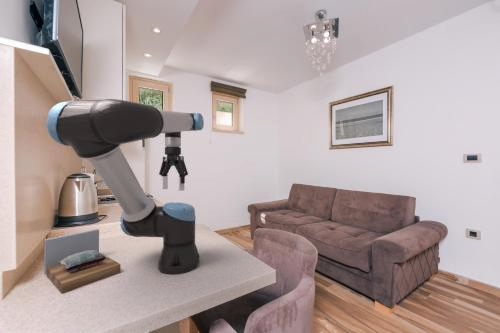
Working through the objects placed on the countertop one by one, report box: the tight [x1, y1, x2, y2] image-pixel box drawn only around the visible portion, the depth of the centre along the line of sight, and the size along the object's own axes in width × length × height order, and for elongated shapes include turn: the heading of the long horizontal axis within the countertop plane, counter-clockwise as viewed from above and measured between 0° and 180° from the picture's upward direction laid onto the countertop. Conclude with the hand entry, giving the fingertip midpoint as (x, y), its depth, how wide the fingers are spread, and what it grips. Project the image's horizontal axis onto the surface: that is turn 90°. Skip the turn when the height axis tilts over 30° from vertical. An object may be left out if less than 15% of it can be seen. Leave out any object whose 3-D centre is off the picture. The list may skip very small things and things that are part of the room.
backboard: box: [43, 228, 100, 276], centre depth 81 cm, size 2×16×12 cm, turn 144°
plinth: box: [46, 252, 121, 295], centre depth 74 cm, size 18×16×3 cm
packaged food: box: [58, 250, 107, 272], centre depth 74 cm, size 9×12×5 cm
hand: (172, 189), depth 104 cm, fingers open, 13 cm apart
